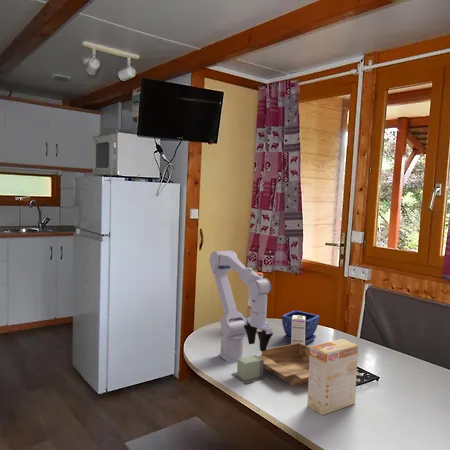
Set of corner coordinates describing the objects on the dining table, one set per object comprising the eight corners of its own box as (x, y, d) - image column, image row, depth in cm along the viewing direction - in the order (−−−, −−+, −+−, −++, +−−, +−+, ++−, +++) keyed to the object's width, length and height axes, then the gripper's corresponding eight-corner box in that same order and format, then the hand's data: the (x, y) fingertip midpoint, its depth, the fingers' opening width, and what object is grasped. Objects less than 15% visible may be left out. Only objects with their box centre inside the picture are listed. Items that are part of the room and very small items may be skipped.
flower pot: (293, 333, 203) (294, 309, 202) (319, 340, 195) (320, 314, 194) (279, 341, 192) (281, 315, 191) (306, 347, 184) (308, 321, 183)
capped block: (237, 375, 153) (237, 358, 153) (255, 370, 157) (255, 355, 157) (244, 380, 149) (245, 363, 148) (263, 376, 153) (263, 359, 152)
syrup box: (304, 353, 178) (305, 319, 177) (290, 351, 179) (291, 318, 178) (304, 348, 183) (306, 315, 182) (290, 347, 185) (292, 314, 184)
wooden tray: (252, 368, 160) (253, 351, 160) (299, 358, 172) (299, 342, 172) (291, 393, 141) (292, 375, 140) (341, 380, 152) (342, 362, 152)
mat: (231, 374, 154) (231, 373, 154) (252, 369, 159) (252, 368, 159) (245, 384, 147) (245, 383, 146) (266, 379, 151) (266, 378, 151)
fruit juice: (257, 325, 214) (259, 270, 212) (269, 330, 207) (271, 273, 205) (242, 328, 209) (244, 272, 207) (254, 333, 201) (257, 275, 199)
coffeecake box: (339, 394, 141) (342, 338, 140) (356, 404, 135) (359, 344, 134) (306, 405, 133) (309, 345, 132) (322, 416, 127) (325, 353, 126)
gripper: (279, 315, 152) (277, 352, 153) (256, 305, 164) (255, 339, 165) (263, 317, 148) (261, 355, 149) (241, 307, 161) (240, 341, 162)
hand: (257, 347), depth 157 cm, fingers open, 7 cm apart
